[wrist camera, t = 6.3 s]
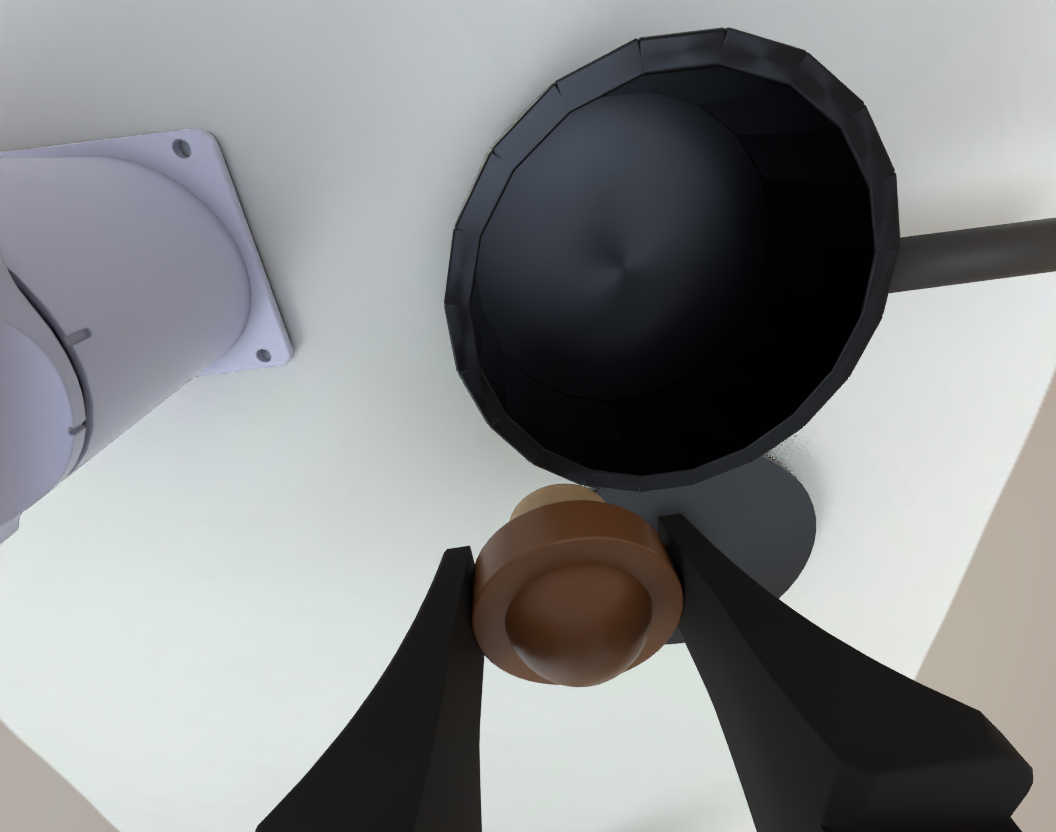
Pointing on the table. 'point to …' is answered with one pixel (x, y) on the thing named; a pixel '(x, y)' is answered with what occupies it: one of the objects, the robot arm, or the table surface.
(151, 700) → the table surface
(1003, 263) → the pan handle
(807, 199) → the pan
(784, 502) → the lid
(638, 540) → the mushroom
